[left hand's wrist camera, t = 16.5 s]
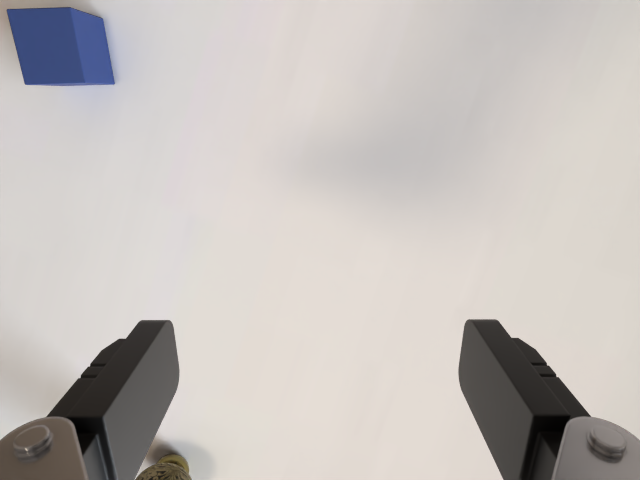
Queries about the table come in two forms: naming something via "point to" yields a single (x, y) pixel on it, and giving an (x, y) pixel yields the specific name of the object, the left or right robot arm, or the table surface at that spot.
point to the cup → (167, 469)
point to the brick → (61, 47)
